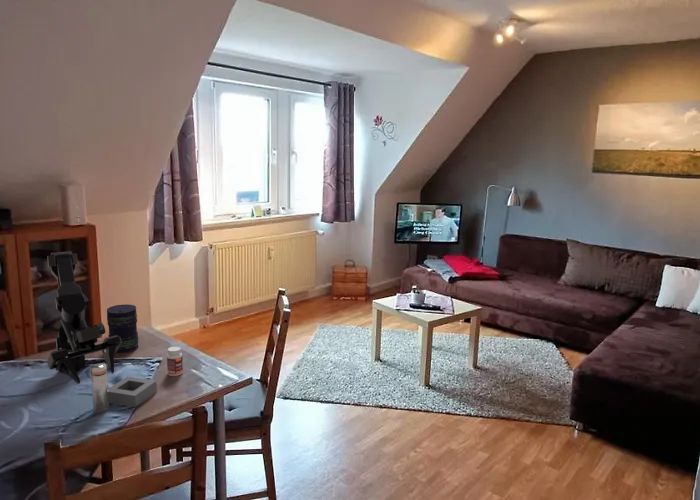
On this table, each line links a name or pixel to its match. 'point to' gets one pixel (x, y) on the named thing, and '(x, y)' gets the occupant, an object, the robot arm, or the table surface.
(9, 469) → the table surface
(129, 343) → the storage jar
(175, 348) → the pill bottle
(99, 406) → the frosted bottle
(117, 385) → the socket block
